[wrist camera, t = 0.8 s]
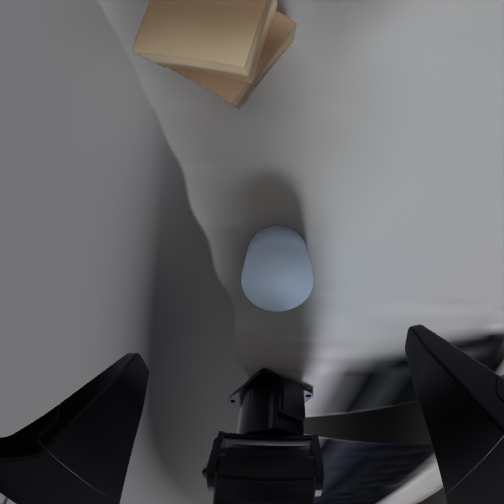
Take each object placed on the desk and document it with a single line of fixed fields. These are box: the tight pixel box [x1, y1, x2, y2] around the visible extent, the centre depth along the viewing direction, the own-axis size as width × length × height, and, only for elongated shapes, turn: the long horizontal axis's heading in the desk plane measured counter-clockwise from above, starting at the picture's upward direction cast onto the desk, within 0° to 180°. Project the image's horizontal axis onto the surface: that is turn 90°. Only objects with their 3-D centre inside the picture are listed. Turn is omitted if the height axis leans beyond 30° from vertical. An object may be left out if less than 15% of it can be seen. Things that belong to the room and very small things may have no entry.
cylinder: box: [241, 226, 314, 312], centre depth 19 cm, size 4×4×4 cm
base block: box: [170, 11, 297, 109], centre depth 14 cm, size 6×6×4 cm
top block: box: [132, 0, 277, 83], centre depth 10 cm, size 5×5×4 cm
